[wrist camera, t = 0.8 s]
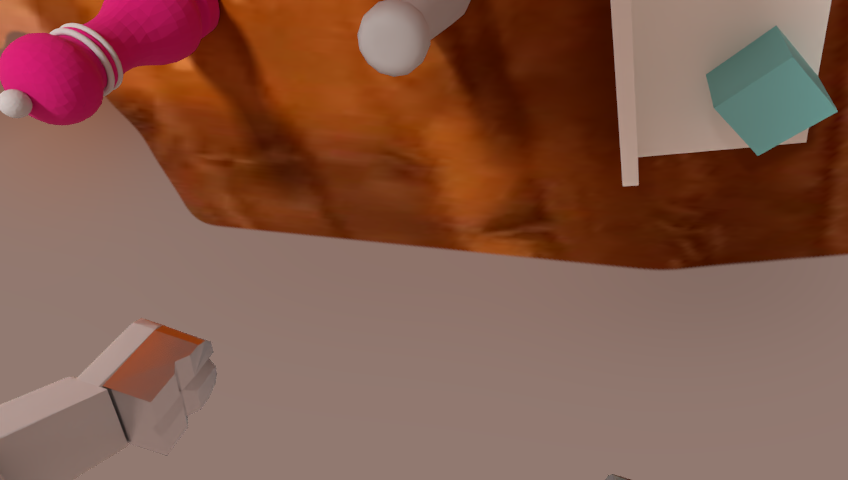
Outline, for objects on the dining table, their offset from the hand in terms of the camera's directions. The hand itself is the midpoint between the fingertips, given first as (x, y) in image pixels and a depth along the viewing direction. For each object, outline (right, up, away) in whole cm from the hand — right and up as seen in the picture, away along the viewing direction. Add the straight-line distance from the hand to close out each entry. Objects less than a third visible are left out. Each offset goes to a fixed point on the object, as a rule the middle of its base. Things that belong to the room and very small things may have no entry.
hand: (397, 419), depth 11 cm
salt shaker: (+2, +23, +30) cm, 38 cm away
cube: (+24, +15, +28) cm, 40 cm away
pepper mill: (-20, +25, +37) cm, 49 cm away
